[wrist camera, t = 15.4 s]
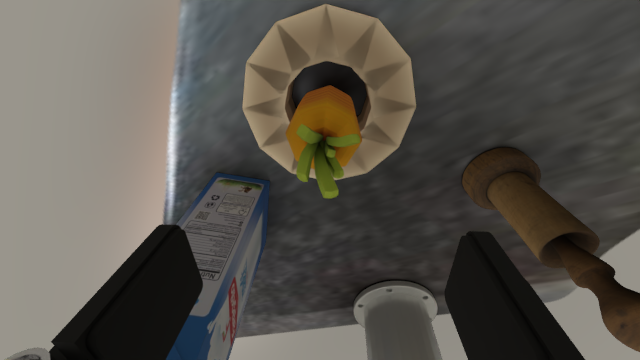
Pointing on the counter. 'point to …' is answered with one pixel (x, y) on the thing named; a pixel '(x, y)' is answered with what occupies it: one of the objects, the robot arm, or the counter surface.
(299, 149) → the carrot
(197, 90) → the counter surface
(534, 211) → the brown tall rounded piece
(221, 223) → the milk carton
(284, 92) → the faceted beige ring
